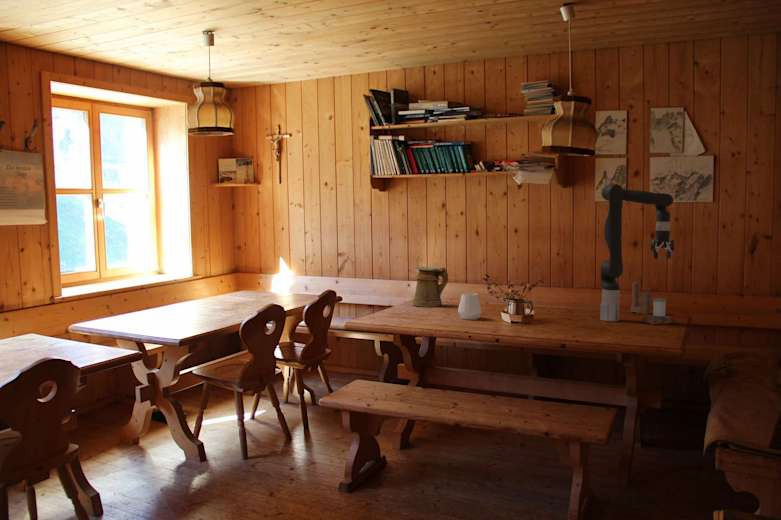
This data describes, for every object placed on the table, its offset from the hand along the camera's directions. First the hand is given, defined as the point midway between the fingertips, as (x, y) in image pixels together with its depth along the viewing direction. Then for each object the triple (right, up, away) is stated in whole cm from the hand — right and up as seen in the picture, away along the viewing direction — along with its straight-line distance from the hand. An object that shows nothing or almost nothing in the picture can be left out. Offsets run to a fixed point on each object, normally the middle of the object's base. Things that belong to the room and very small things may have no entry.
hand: (662, 258), depth 379 cm
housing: (-6, -32, -12) cm, 35 cm away
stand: (-6, -35, -12) cm, 37 cm away
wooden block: (-4, -33, +21) cm, 39 cm away
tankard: (-126, -30, +57) cm, 142 cm away
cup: (-107, -34, +6) cm, 113 cm away
